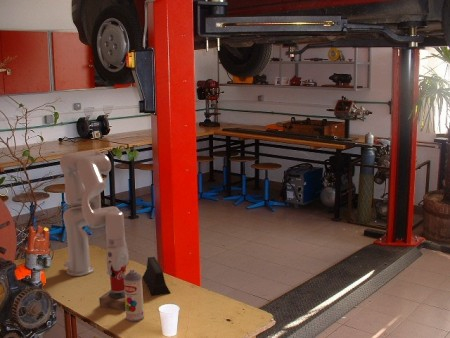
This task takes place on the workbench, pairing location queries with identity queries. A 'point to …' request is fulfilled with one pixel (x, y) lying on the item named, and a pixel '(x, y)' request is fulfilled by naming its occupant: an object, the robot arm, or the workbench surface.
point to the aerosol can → (133, 296)
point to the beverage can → (118, 280)
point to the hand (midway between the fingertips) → (118, 283)
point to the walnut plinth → (113, 300)
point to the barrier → (155, 278)
